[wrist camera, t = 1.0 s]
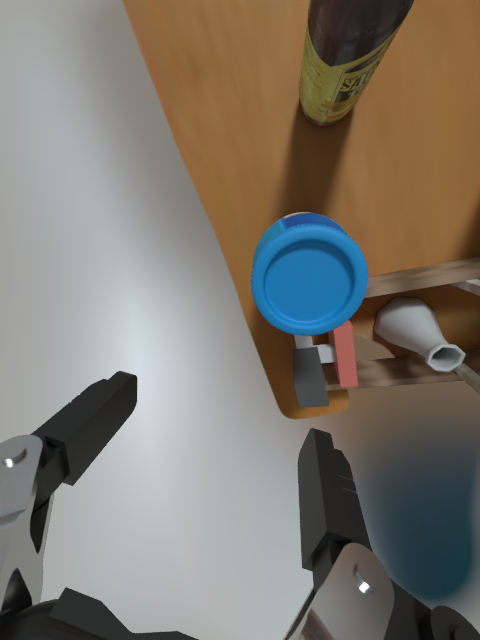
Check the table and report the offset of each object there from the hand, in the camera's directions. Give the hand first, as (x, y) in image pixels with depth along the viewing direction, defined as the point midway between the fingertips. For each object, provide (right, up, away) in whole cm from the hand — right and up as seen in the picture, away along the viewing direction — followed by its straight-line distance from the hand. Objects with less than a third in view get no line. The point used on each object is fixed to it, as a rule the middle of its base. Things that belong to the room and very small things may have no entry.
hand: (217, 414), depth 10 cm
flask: (+24, +4, +22) cm, 33 cm away
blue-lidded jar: (+9, +14, +21) cm, 27 cm away
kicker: (+13, +2, +25) cm, 28 cm away
